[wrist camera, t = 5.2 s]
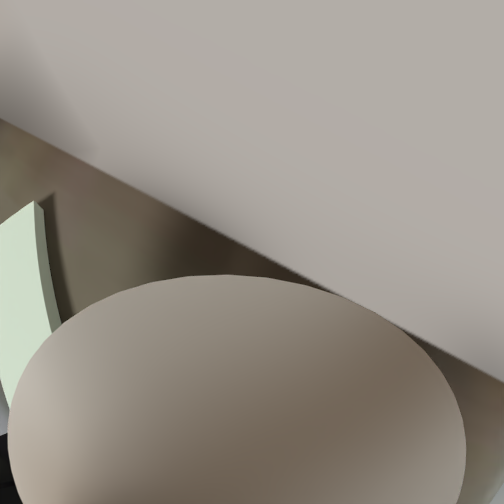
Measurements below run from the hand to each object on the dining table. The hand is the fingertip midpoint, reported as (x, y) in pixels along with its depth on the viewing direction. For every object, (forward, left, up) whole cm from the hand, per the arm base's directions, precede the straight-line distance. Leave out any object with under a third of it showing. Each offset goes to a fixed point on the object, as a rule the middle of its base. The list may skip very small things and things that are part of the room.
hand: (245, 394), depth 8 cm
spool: (-1, +1, -7) cm, 7 cm away
